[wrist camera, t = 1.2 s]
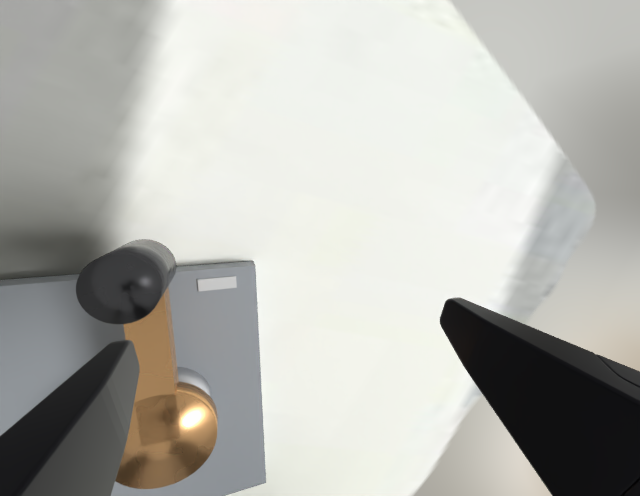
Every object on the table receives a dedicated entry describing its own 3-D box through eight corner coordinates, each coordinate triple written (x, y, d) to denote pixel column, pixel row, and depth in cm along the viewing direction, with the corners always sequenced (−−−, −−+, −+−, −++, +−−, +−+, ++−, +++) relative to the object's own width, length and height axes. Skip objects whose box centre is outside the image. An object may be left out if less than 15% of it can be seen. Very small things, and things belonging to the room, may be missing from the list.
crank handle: (220, 454, 19) (219, 518, 15) (114, 482, 17) (83, 563, 13) (202, 236, 16) (196, 249, 12) (73, 242, 14) (20, 259, 11)
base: (263, 466, 24) (269, 508, 21) (-15, 547, 19) (-65, 620, 16) (253, 260, 21) (258, 273, 18) (-89, 286, 16) (-172, 311, 12)
